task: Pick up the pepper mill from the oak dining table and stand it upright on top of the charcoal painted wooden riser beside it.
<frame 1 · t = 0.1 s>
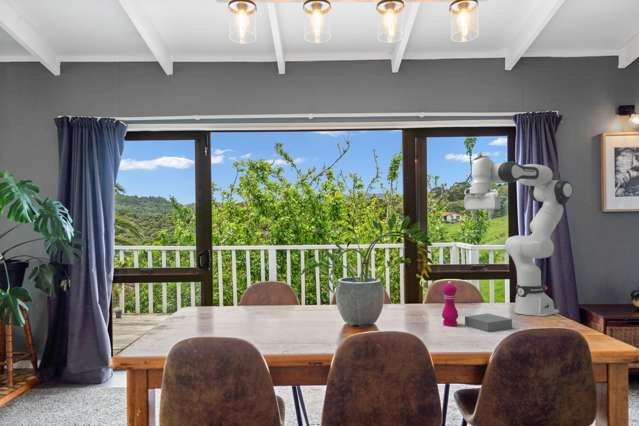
hand: (482, 219, 225), 48 cm above the table, tool pointing down, fingers open, 8 cm apart
riser: (488, 326, 210), on the table
pepper mill: (450, 325, 215), on the table
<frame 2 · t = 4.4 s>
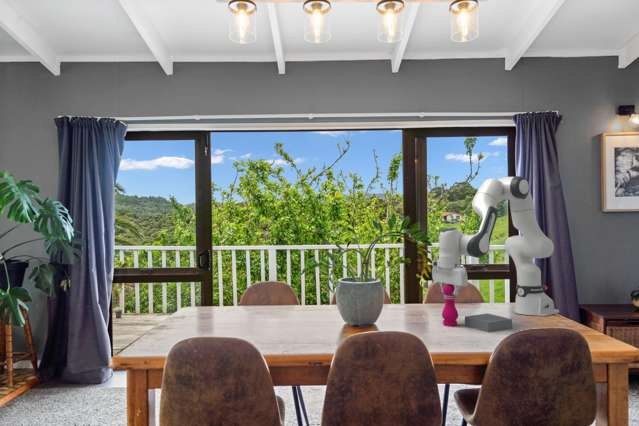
hand: (449, 293, 215), 14 cm above the table, tool pointing down, fingers closed on pepper mill, 6 cm apart
pepper mill: (450, 325, 215), on the table, touching gripper
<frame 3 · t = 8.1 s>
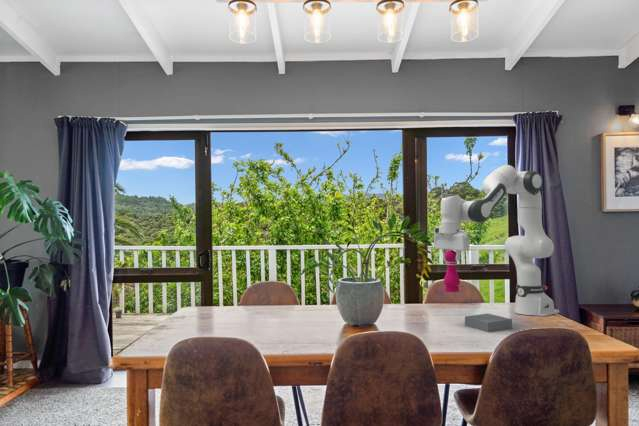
hand: (451, 259, 215), 30 cm above the table, tool pointing down, fingers closed on pepper mill, 6 cm apart
pepper mill: (451, 291, 215), point 15 cm above the table, touching gripper
when the fingers open (19 cm above the table, at t = 11.8 s): pepper mill stays where it is, resting on riser.
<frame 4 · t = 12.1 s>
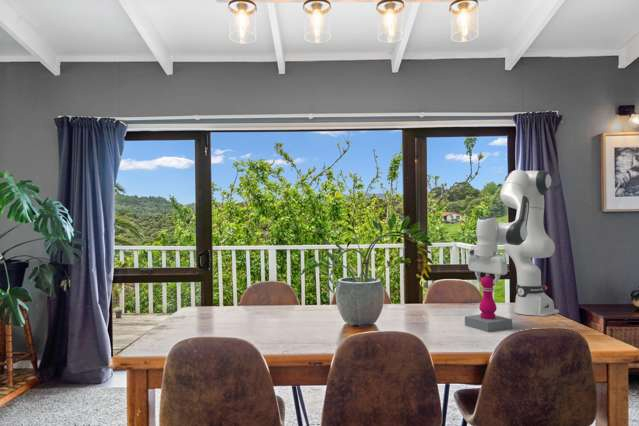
hand: (487, 282, 210), 20 cm above the table, tool pointing down, fingers open, 8 cm apart
pepper mill: (487, 318, 210), point 4 cm above the table, touching riser
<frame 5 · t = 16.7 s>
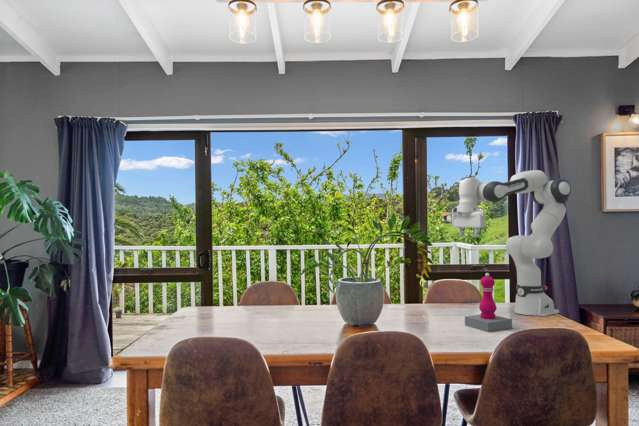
hand: (468, 236, 234), 39 cm above the table, tool pointing down, fingers open, 8 cm apart
nothing on the table moved.
at the end: pepper mill 0.1 cm off-centre on the riser, point 3.8 cm above the riser's base; pepper mill tilted 0°; the gripper is holding nothing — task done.
